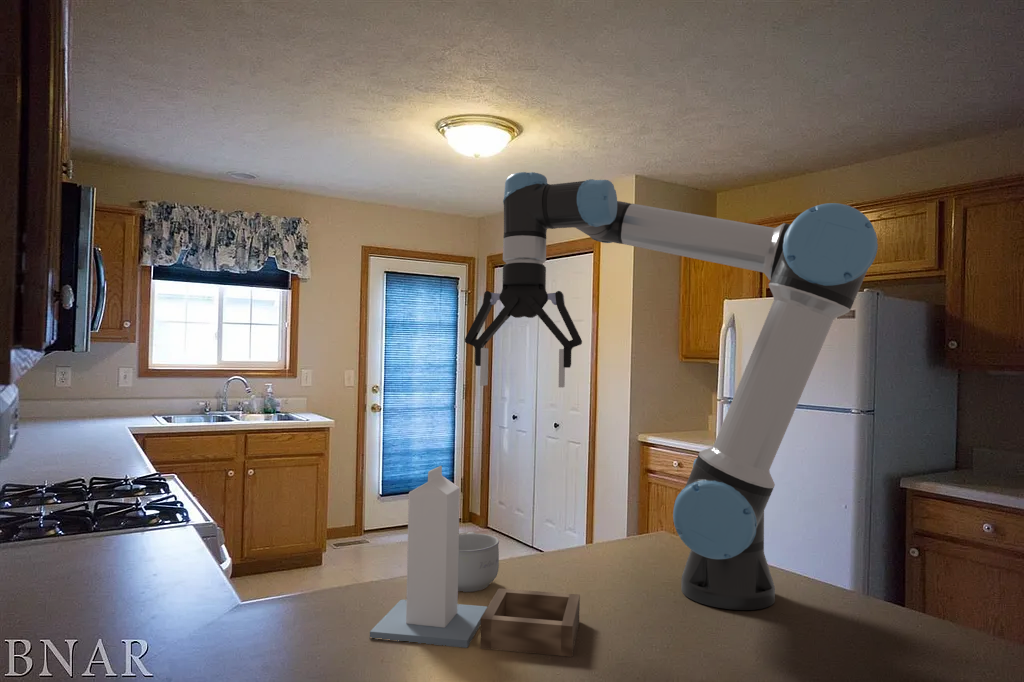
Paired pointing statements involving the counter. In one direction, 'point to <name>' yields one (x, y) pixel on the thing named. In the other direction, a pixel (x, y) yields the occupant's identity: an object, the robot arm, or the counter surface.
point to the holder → (531, 622)
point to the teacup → (477, 561)
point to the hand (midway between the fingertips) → (522, 386)
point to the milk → (433, 552)
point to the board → (452, 635)
